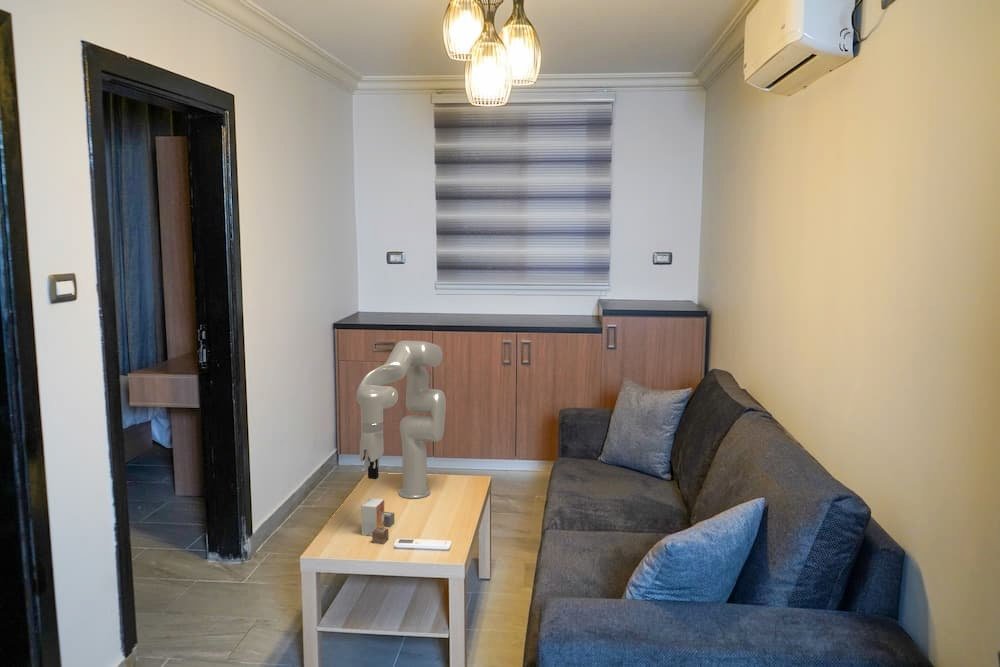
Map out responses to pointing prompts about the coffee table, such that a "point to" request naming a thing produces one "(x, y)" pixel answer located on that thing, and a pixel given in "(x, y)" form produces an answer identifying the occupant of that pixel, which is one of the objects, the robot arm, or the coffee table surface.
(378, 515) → the small box
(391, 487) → the coffee table surface
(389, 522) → the digit one block
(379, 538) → the digit seven block
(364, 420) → the robot arm
